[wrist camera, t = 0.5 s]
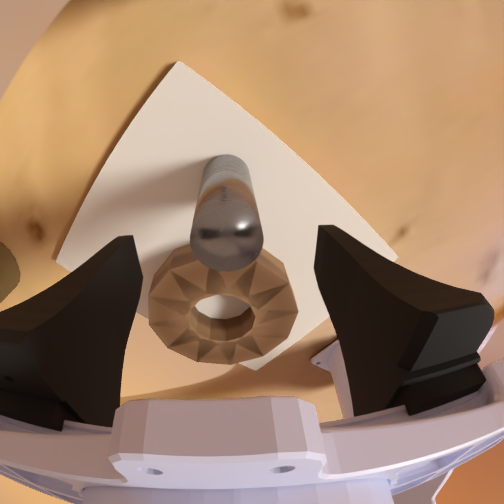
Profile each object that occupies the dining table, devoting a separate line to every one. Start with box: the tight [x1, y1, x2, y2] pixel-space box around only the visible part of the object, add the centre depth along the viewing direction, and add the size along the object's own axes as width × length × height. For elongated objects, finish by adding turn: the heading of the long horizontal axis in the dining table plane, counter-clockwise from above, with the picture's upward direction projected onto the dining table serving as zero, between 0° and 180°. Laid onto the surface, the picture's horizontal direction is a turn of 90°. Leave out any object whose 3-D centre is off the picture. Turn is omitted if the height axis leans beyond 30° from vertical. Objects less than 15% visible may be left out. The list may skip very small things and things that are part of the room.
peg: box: [190, 154, 264, 272], centre depth 16 cm, size 3×3×8 cm
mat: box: [56, 61, 398, 371], centre depth 23 cm, size 22×18×1 cm
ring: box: [148, 244, 299, 365], centre depth 24 cm, size 11×11×2 cm
